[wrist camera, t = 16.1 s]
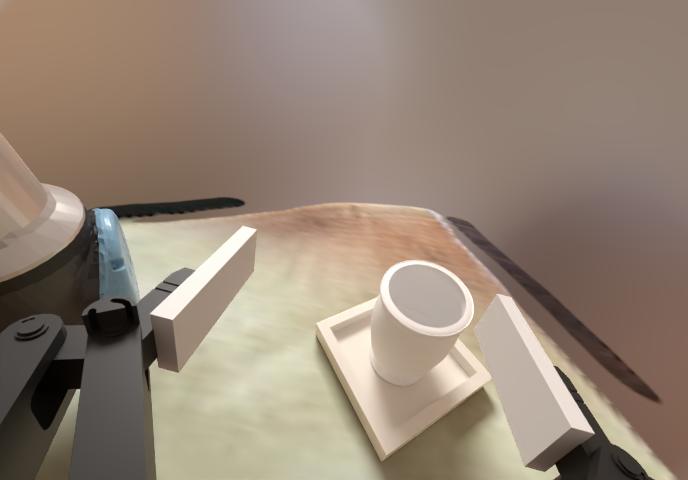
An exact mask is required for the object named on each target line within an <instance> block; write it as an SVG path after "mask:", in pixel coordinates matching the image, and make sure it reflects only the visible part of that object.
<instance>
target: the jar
mask: <svg viewBox="0 0 688 480" xmlns="http://www.w3.org/2000/svg"><path fill="white" fill-rule="evenodd" d="M473 312H474V304H473V300H472V297H471V294H470V292H469V290H468V289H467V287H466V286H465V284H464V283H463V282H462V281H461V280H460V279H459V278H458V277H457V276H456V275H455V274H453V273H452V272H450V271H449V270H447V269H446V268H444V267H442V266H440V265H437V264H435V263H431V262H428V261H422V260H408V261H403V262H400V263H397V264H395V265H393V266H392V267H391V268H389V269H388V270H387V271H386V273H385V274H384V276H383V278H382V281H381V285H380V294H379V296H378V298H377V301H376V303H375V306H374V309H373V313H372V318H371V346H370V359H371V363H372V365H373V367H374V369H375V371H376V372H377V373H378V374H379V375H380V376H381V377H382V378H383V379H384V380H386V381H387V382H389V383H391V384H394V385H398V386H408V385H412V384H414V383H416V382H417V381H419V380H420V379H421V378H422V376H423V375H424V374H425V373H427V372H428V371H430V370H431V369H432V368H433V367H435V366H436V365H438V364H439V363H440V362H441V361H442V360H443V359H444V358H445V357H446V356H447V355H448V354H449V353H450V351H451V350H452V348H453V347H454V345H455V343H456V341H457V339H458V336H459V334H460V333H462V332H463V331H464V330H465V329H466V328H467V326H468V325H469V323H470V321H471V319H472V317H473Z"/></svg>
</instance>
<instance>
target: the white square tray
mask: <svg viewBox="0 0 688 480" xmlns="http://www.w3.org/2000/svg"><path fill="white" fill-rule="evenodd" d="M377 298H378V297H376V298H374V299H372V300H369V301H367V302H365V303H362V304H360V305H358V306H355V307H353V308H351V309H348V310H346V311H344V312H341V313H339V314H337V315H334V316H332V317H330V318H327V319H325V320H323V321H320V322H318V323H316V336H317V338H318V340H319V342H320V344H321V346H322V348H323V349H324V351H325V353H326V355H327V357H328V359H329V361H330V363H331V365H332V367H333V369H334V371H335V373H336V375H337V377H338V379H339V381H340V383H341V385H342V386H343V388H344V390H345V392H346V394H347V396H348V398H349V400H350V402H351V404H352V406H353V408H354V410H355V412H356V414H357V416H358V418H359V420H360V422H361V424H362V425H363V427H364V429H365V431H366V433H367V435H368V437H369V439H370V441H371V443H372V445H373V447H374V449H375V451H376V453H377V455H378V457H379V459H380V461H381V462H382V461H384V460H385V459H386V458H388V457H389V456H390V455H392V454H393V453H394V452H396V451H397V450H399V449H400V448H401V447H403V446H404V445H405V444H407V443H408V442H409V441H411V440H412V439H413V438H415V437H416V436H417V435H419V434H420V433H422V432H423V431H424V430H426V429H427V428H428V427H430V426H431V425H432V424H434V423H435V422H436V421H438V420H439V419H440V418H442V417H443V416H445V415H446V414H447V413H449V412H450V411H451V410H453V409H454V408H455V407H457V406H458V405H459V404H461V403H462V402H463V401H465V400H466V399H468V398H469V397H470V396H472V395H473V394H474V393H476V392H477V391H478V390H480V389H481V388H482V387H484V386H485V385H486V384H487V383H488V382H489V381H490V380H491V379H492V378H491V375H490V373H489V372H488V371H487V370H486V369H485V368H484V366H483V365H482V364H481V363H480V362H479V361H478V360H477V359H476V357H475V356H474V355H473V354H472V353H471V352H470V351H469V350H468V349H467V347H466V346H465V345H464V344H463V343H462V342H461V341H460V340H459V339H457V341H456V343H455V345H454V347H453V348H452V350H451V351H450V353H449V354H448V355H447V356H446V357H445V358H444V359H443V360H442V361H441V362H440V363H439V364H438V365H436V366H435V367H433V368H432V369H431V370H430V371H428V372H427V373H425V374H424V375H423V376H422V378H421V379H420V380H419V381H417V382H416V383H414V384H412V385H408V386H398V385H394V384H391V383H389V382H387V381H386V380H384V379H383V378H382V377H381V376H380V375H379V374H378V373H377V372H376V371H375V369H374V367H373V365H372V363H371V359H370V346H371V318H372V313H373V309H374V306H375V303H376V301H377Z"/></svg>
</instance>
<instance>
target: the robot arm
mask: <svg viewBox="0 0 688 480" xmlns="http://www.w3.org/2000/svg"><path fill="white" fill-rule="evenodd" d="M256 236H257V230H256V229H252V228H249V227H245V226H243V227H242V228H240V229H239V230H238V231H237V232H236V233H235V234H234V235H233V236H232V237H231V238H230V239H229V240H228V241H227V242H226V243H224V244H223V245H222V246H221V247H220V248H219V249H218V250H217V251H216V252H215V253H214V254H213V255H212V256H211V257H210V258H209V259H207V260H206V261H205V262H204V263H203V264H202V265H201V266H200V267H199V268H198V269H197V270H192V269H188V268H183V269H181V270H178V271H176V272H174V273H172V274H171V275H170V276H168V277H167V278H166V279H165V280H164V281H163V283H162V282H161V283H160V284H159V285H158V286H157V287H156V288H155V289H153V290H152V291H151V292H150V293H148V294H147V295H146V296H145V297H144V298H142V299H141V300H140V297H139V290H138V284H137V280H136V275H135V271H134V267H133V263H132V260H131V256H130V253H129V249H128V246H127V243H126V240H125V236H124V233H123V231H122V228H121V225H120V222H119V220H118V218H117V216H116V215H115V213H114V212H113V211H112V210H109V209H98V208H96V209H92V211H91V212H88V211H87V210H86V208H85V207H84V205H83V204H82V202H81V201H80V200H79V199H78V197H77V196H75V195H74V194H72V193H71V192H69V191H67V190H65V189H63V188H60V187H57V186H53V185H48V184H42V183H40V182H39V181H38V180H37V179H36V177H35V176H34V175H33V174H32V172H31V171H30V170H29V169H28V167H27V166H26V165H25V163H24V162H23V161H22V160H21V158H20V157H19V156H18V155H17V153H16V152H15V151H14V149H13V148H12V147H11V145H10V144H9V143H8V142H7V140H6V139H5V138H4V136H3V135H2V134H1V133H0V480H34V479H35V477H36V475H37V473H38V471H39V468H40V466H41V464H42V462H43V460H44V458H45V456H46V453H47V451H48V449H49V447H50V445H51V443H52V441H53V438H54V436H55V434H56V432H57V430H58V428H59V426H60V423H61V421H62V419H63V417H64V415H65V413H66V411H67V408H68V406H69V404H70V402H71V400H72V398H73V396H74V393H75V391H76V389H81V390H80V397H79V405H78V413H77V420H76V428H75V435H74V443H73V451H72V458H71V466H70V473H69V480H156V468H155V451H154V435H153V419H152V402H151V386H150V371H149V366H150V365H151V364H152V363H153V362H154V360H155V359H156V358H157V361H158V366H159V368H163V369H167V370H170V371H174V372H178V373H179V372H180V370H181V369H182V368H183V366H184V365H185V363H186V362H187V361H188V359H189V358H190V357H191V355H192V354H193V353H194V351H195V350H196V349H197V347H198V346H199V344H200V343H201V342H202V340H203V339H204V338H205V336H206V335H207V334H208V332H209V331H210V330H211V328H212V327H213V325H214V324H215V323H216V321H217V320H218V319H219V317H220V316H221V315H222V313H223V312H224V311H225V309H226V308H227V306H228V305H229V304H230V302H231V301H232V300H233V298H234V297H235V296H236V294H237V293H238V292H239V290H240V289H241V287H242V286H243V285H244V283H245V282H246V281H247V279H248V278H249V277H250V275H251V274H252V273H253V271H254V261H255V249H256ZM139 300H140V301H139ZM474 332H475V335H476V338H477V340H478V343H479V346H480V348H481V351H482V354H483V356H484V359H485V362H486V364H487V367H488V370H489V372H490V375H491V378H492V380H493V383H494V386H495V389H496V391H497V394H498V397H499V399H500V402H501V405H502V407H503V410H504V413H505V415H506V418H507V421H508V423H509V426H510V429H511V431H512V434H513V437H514V440H515V442H516V445H517V448H518V450H519V453H520V456H521V458H522V461H523V464H524V466H525V467H529V468H532V469H536V470H540V471H543V472H545V471H547V470H548V469H549V468H551V467H552V466H553V465H556V467H557V469H558V471H559V473H560V475H559V476H558V477H556V478H555V479H554V480H654V479H652V478H650V477H648V475H647V473H646V472H645V470H644V469H643V468H642V466H641V465H640V464H639V463H638V462H637V461H636V460H635V459H634V458H633V457H632V456H631V455H630V454H628V453H627V452H626V451H624V450H623V449H621V448H620V447H618V446H616V445H613V444H611V443H610V441H609V440H608V438H607V437H606V435H605V434H604V432H603V430H602V429H601V427H600V426H599V424H598V423H597V421H596V420H595V418H594V417H593V415H592V413H591V412H590V410H589V409H588V407H587V406H586V404H584V401H583V399H582V398H581V396H580V395H579V394H578V393H577V390H576V389H575V387H574V385H573V384H572V382H571V381H570V379H569V378H568V377H567V376H566V375H565V374H564V373H563V372H562V371H561V370H560V369H559V368H558V367H557V366H553V365H552V363H551V361H550V360H549V358H548V357H547V355H546V353H545V352H544V350H543V348H542V347H541V345H540V344H539V342H538V340H537V339H536V337H535V335H534V334H533V332H532V331H531V329H530V327H529V326H528V324H527V322H526V321H525V319H524V317H523V316H522V314H521V313H520V311H519V309H518V308H517V306H516V304H515V303H514V301H513V300H512V298H511V297H508V296H504V295H500V294H497V295H496V296H495V298H494V299H493V301H492V302H491V304H490V305H489V307H488V308H487V310H486V311H485V313H484V314H483V316H482V318H481V319H480V321H479V322H478V324H477V325H476V327H475V328H474Z"/></svg>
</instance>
